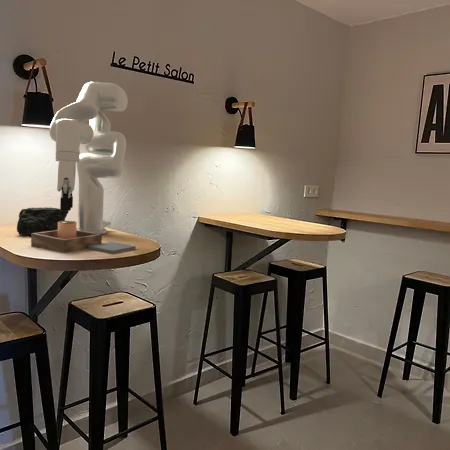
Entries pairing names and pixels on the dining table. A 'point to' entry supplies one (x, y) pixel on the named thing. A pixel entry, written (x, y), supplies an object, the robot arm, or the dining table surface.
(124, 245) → the mat
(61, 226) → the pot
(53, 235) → the brown wooden tray
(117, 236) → the dining table surface
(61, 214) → the rock
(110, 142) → the robot arm
